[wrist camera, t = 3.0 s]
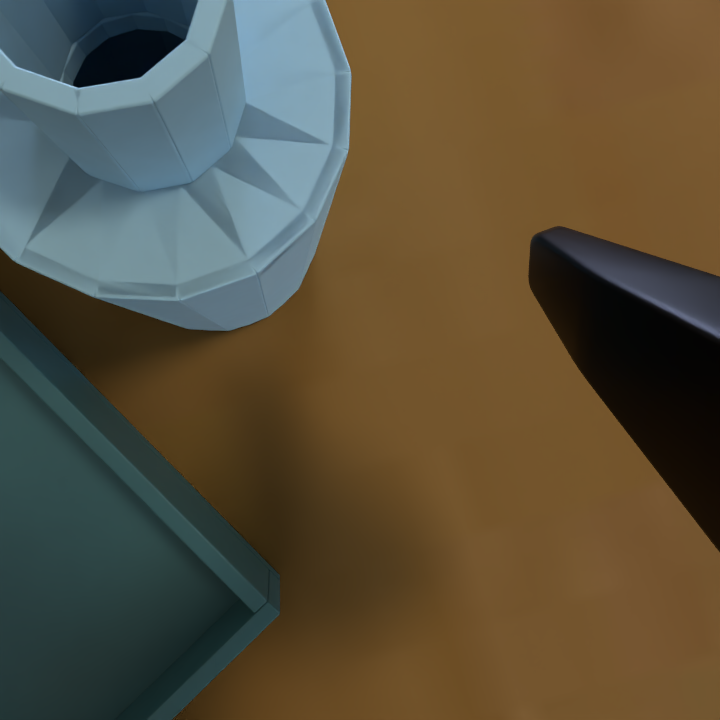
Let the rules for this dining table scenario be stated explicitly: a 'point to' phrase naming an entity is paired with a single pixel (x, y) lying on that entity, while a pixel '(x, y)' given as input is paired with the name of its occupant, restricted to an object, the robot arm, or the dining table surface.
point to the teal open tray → (107, 555)
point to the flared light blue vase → (171, 149)
